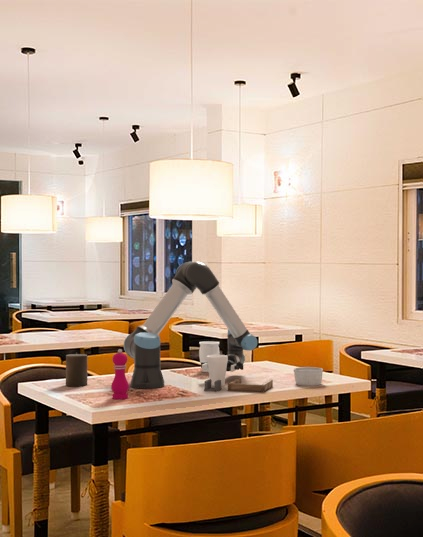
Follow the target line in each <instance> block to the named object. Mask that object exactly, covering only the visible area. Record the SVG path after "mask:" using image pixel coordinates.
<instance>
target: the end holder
mask: <svg viewBox="0 0 423 537" xmlns="http://www.w3.org/2000/svg"><path fill="white" fill-rule="evenodd" d="M273 384H274V383H273V379H268V380H266V381H265V382H263V383H261V384H255V383H242V378H236V379H234V380H232V381H230V382H228V383H227V391H228V392H245V393H246V392H247V393H265V392H267V391H269V390H270V389H271V388H273V387H274V386H273Z"/></svg>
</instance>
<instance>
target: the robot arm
mask: <svg viewBox="0 0 423 537" xmlns="http://www.w3.org/2000/svg"><path fill="white" fill-rule="evenodd" d="M171 282H172V283H171V284H172V285H171V286H170V287H169V289H168V290H167V291H166V293H165V294H164V295H163V297H162V299H160V301H159V302H158V303H157V305H156V306H155V308H154V309H153V310H152V312H151V313H150V314H149V316H148V317H147V318H146V320H145V321H144V323H142V324H141V325H137V327H136V328H135V329H134V331H133V332H132V333H129V334H128V335H127V336H126V337H125V339H124V341H123V350H124V352H125V355H126V356H127V357H129V358H131V359H133V362H134V363H133V364H134V365H133V372H132V375H131V379H130V387H131V388H134V389H158V388H162V387H165V380H164V376H163V373H162V369H161V343H162V342H161V337H160V333H161V332H162V330H164V328H165V326H166V325H167V324H168V322H169V321H170V319H171V318H172V317H173V315H174V314H175V313H176V311H177V310H178V308H179V307H180V306H181V304H182V303H183V302H184V300H185V299H186V297H187V296H190V295H193V294H194V293H195V290H196V289H198V290H199V292H200V293H201V294H202V295H204V296H205V297H206V298H207V299H208V301H209V303H210V305H211V306H212V307H213V309H214V310H215V312H216V313H217V314H218V317H219V318H220V319H221V320H222V322H223V323H224V325H225V327H226V328H227V335H226V337H227V354H226V355H227V356H228V361H227V369H226V372H230V373H233V372H235V371H238V370H241V371H243V370H244V364H245V362H246V357H245V356H246V355H244V351H253V350H254V349H256V348H257V346H258V339H257V337H256V336H255V335H253V334H251V333H250V331H249V330H248V329H247V327H246V325H245V324H244V322H243V321H242V319H241V318H240V316H239V315H238V313H237V312H236V310H235V309H234V307H233V305H232V304H231V303H230V301H229V300H228V297H227V296H226V295H225V293H224V292H223V290H222V289H221V287H220V282H219V280H218V278H217V277H216V276H215V273H214V272H213V271H212V270H211V268H210V267H209V266H208V265H207V264H206V263H204V262H200V261H186V262H183V263H181V264H180V265H179V266H178V267H177V268H176V271H175V275H174V277H173V278H172V279H171ZM200 369H201V370H202V371H204V370H206V369H208V363H207V362H202V363H200ZM202 371H201V372H202Z"/></svg>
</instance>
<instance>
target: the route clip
mask: <svg viewBox="0 0 423 537" xmlns="http://www.w3.org/2000/svg"><path fill="white" fill-rule="evenodd" d="M222 389H223V388H222V386H221V380H217V381H215V382H214V386H212V385H211V379H210V378H209V379H207V380H205V381H204V389H203V390H204V391H205V392H219V391H221V390H222Z"/></svg>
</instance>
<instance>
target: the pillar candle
mask: <svg viewBox="0 0 423 537" xmlns="http://www.w3.org/2000/svg"><path fill="white" fill-rule="evenodd" d="M65 386H66V387H71V388H72V387H73V388H74V387H77V388H79V387H87V386H88V354H84V353H82V354H81V353H78V352H75V353H73V354H66V355H65Z"/></svg>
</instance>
